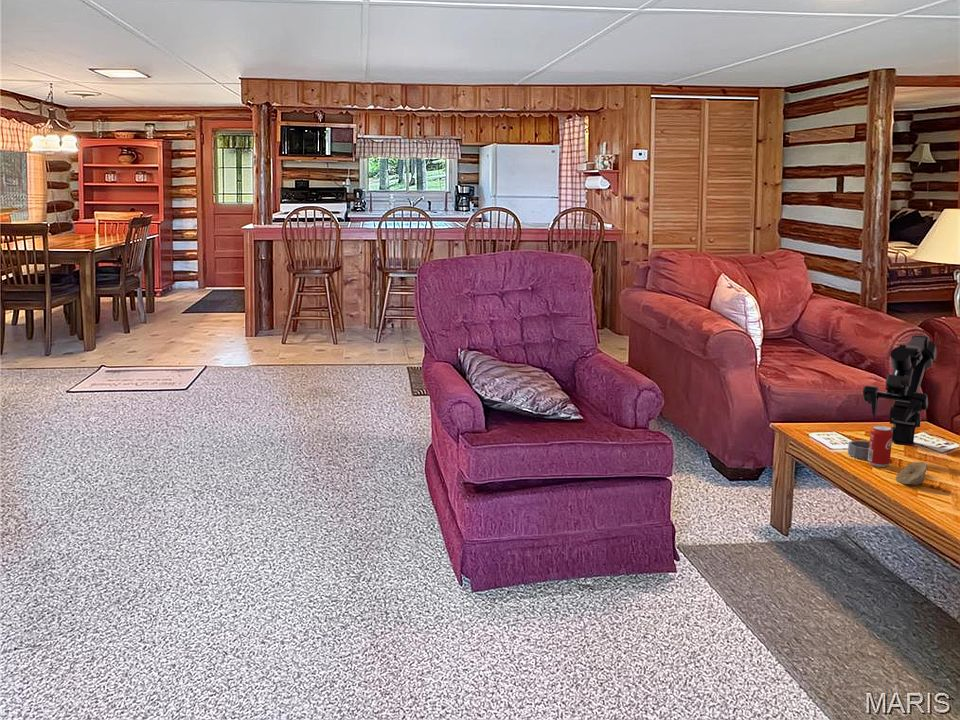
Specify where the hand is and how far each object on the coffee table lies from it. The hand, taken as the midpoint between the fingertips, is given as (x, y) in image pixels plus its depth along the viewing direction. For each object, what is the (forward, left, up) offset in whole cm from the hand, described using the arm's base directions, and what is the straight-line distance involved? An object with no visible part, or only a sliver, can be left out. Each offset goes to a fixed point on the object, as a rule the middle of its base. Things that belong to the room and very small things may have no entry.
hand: (888, 419), depth 284 cm
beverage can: (+3, +7, -13) cm, 15 cm away
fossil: (-2, +24, -13) cm, 27 cm away
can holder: (+6, -2, -13) cm, 15 cm away
